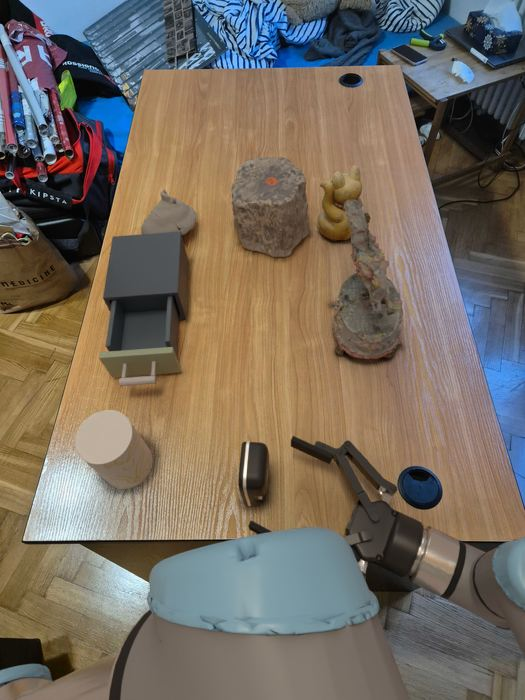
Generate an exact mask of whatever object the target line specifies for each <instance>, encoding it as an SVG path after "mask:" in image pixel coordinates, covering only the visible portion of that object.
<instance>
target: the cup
mask: <svg viewBox="0 0 525 700" xmlns="http://www.w3.org/2000/svg"><path fill="white" fill-rule="evenodd" d="M74 448H75V451H76V454H77V455H78V457H79V458H80V459H82V461H84V462H85V463H86V464H87V465H88V466H89V467H90V468H91V469H93V471H95V472H96V473H97V474H98V475H99V476H100V477H101V478H102V479H104V480H105V481H106V482H107V483H108V484H109V485H110V486H112V487H113V488H115V489H119V490H129V489H132V488H135V487H137V486H138V485H140V484H141V483H144V481H146V479H147V478H148V476H149V475H150V474H151V471H152V469H153V464H154V458H153V453H152V451H151V449H150V447H148V445H147V443H146V442H145V441H144V439H143V437H142V436H141V435H140V433H139V432H138V430H137V429H136V428H135V427H134V425H133V423H132V421H130V419H129V417H127V416H126V415H125V414H124V413H122V412H120V411H118V410H114V409H105V410H99V411H97V412H95V413H93V414H90V415H89V416H88V417H86V419H85V420H83V421H82V423H81V424H80V426H79V427H78V429H77V431H76V433H75V437H74Z"/></svg>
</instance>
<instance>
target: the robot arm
mask: <svg viewBox="0 0 525 700" xmlns="http://www.w3.org/2000/svg"><path fill="white" fill-rule="evenodd" d="M290 447H291V448H292V449H295V450H297V451H300V452H302V453H304V454H306V455H308V456H310V457H312V458H315V459H317V460H319V461H322V462H324V463H326V464H327V465H331V464H332V461H333V462H334V463H335V465H336V467H337V469H338V471H339V473H340V474H341V476H342V478H343V480H344V482H345V484H346V486H347V487H348V490H349V492H350V493H351V495H352V497H353V499H354V503H355V504H356V505H355V506H354V507H353V510H352V512H351V515H350V520H349V521H348V523H347V525H346V527H345V530H344V536H343V535H342V534H340V533H339V532H337V531H335V530H333V529H331V528H328V527H323V526H306V527H305V526H303V527H297V528H296V527H295V528H286V529H281V530H274V531H272V530H270V529H268V528H266V527H265V526H262V525H261V524H259V523H258V522H255V521H253V520H250V521H249V523H248V525H247V526H248V529H249V531H251V532H253V533H254V534H252V535H247V536H242V537H238V538H233V539H229V540H225V541H221V542H220V541H219V542H216V543H212V544H208V545H204V546H200V547H197V548H193V549H190V550H186V551H183V552H180V553H177V554H174V555H172V556H169V557H167V558H164V559H162V560H160V561H158V563H156V564H155V565H154V566H153V567H152V569H151V571H150V573H149V577H148V579H149V580H148V584H149V585H148V586H149V591H148V593H147V596H146V600H147V605H148V608H149V609H148V610H147V611H146V612H144V614H143V615H141V616H140V618H139V619H138V620H137V621H136V622H134V624H133V625H132V627H131V628H130V630H129V631H128V633H127V634H126V635H125V638H124V639H123V642H122V644H121V645H120V647H119V649H118V650H116V651H114V652H112V653H109V654H108V655H106V656H104V657H102V658H99V659H97V660H95V661H93V662H91V663H89V664H87V665H85V666H83V667H81V668H79V669H76V670H74V671H72V672H70V673H68V674H66V675H64V676H61V677H59V678H58V679H55V680H53V679H52V674H51V672H50V669H49V668H48V666H46V665H43V664H40V663H27V664H21V665H16V666H15V665H14V666H11V667H7V668H3V669H0V700H411V698H410V696H409V693H408V690H407V687H406V685H405V682H404V679H403V678H402V675H401V672H400V669H399V667H398V664H397V662H396V659H395V656H394V653H393V650H392V648H391V646H390V643H389V640H388V638H387V636H386V633H385V630H384V627H383V624H382V623H381V619H380V616H379V614H378V613H379V612H380V608H381V607H380V604H379V600H378V598H377V596H376V594H375V593H374V592H373V591H371V590H370V589H369V586H368V584H367V582H366V579H367V575H366V572H367V568H368V564H374V565H376V566H378V567H380V568H382V569H385V570H386V571H388V572H390V573H392V574H394V575H396V576H398V577H400V578H405V577H408V580H409V582H410V583H412V584H413V585H416V586H418V587H420V588H421V589H423V590H425V591H428V592H430V593H431V594H433V595H436V596H438V597H440V598H442V599H444V600H446V601H448V602H449V603H452V604H454V605H456V606H457V607H459V608H462V609H464V610H466V611H467V612H469V613H471V614H473V615H475V616H477V617H479V618H480V619H482V620H484V621H487V622H488V623H490V624H492V625H493V626H495V627H496V628H497V629H499V630H502V631H505V632H509V633H511V634H512V635H513V637H514V639H515V641H516V643H517V645H518V647H519V649H520V651H521V653H522V655H523V657H524V658H525V536H522V537H519V538H514V539H512V540H509V541H505V542H503V543H501V544H499V545H498V546H497V547H495V548H493V549H491V550H489V551H484V550H481V549H479V548H477V547H474V546H472V545H470V544H469V543H466V542H464V541H462V540H459V539H458V538H455V537H454V536H451V535H449V534H447V533H445V532H443V531H441V530H439V529H436V528H435V527H433V526H430V525H429V526H427V527H426V528H424V527H425V526H424V524H423V522H421V521H420V520H417V519H415V518H414V517H411V516H409V515H406V514H405V513H403V512H400V511H398V510H397V509H394V508H393V507H391V506H390V502H391V500H392V499H393V497H394V496H395V494H396V493H397V491H398V486H397V485H396V484H394V483H392V482H391V481H389V480H387V479H385V478H384V476H383V475H382V474H381V473H379V471H378V470H377V469H376V468H375V467H374V466H373V465H372V464H371V463H370V461H369V460H368V459H367V458H366V457H365V456H364V455H363V453H362V452H361V451H360V450H359V449H358V448H357V447H356V446H355V445H354V444H353V443H352V442H351V440H344V441H343V444H342V445H340V446H339V447H337V448H335V447H333V446H331V445H329V444H326V443H324V442H322V441H319V440H316V441H315V442H314V444H312V443H310V442H308V441H306V440H303V439H301V438H299V437H297V436H295V435H292V436H291V439H290ZM349 461H350V462H349ZM350 463H352V464H353V465H354V467H355V468H356V469H357V470H358V472H360V474H361V475H362V476H363V477H364V478H365V479H366V480H367V482H369V484H370V485H371V486H372V487H373V488H374V489H375V490H377V495H378V496H379V498H380V499H381V500H375V501H371V499H370V497H369V495H368V493H367V492H366V491H365V489H364V488H363V486H362V484H361V483H360V481H359V479H358V477H357V475H356V473H355V471H354V470H353V467H352V466H351V464H350ZM358 560H359V561H358Z"/></svg>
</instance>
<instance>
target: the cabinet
mask: <svg viewBox="0 0 525 700" xmlns="http://www.w3.org/2000/svg"><path fill="white" fill-rule="evenodd" d="M110 244H111V245H110V252H109V256H108V257H109V258H108V262H107V263H108V264H107V269H106V270H107V271H106V276H105V282H104V290H103V294H102V299H103V301H104V303H105V305H106V307H107V309H108V311H109V313H110V312H111V305H112V300H119V299H133V298H146V297H159V296H173V295H174V296H175V299H176V302H177V305H178V308H179V322H183V321H187V320H188V319H187V317H188V291H189V258H188V253H187V249H186V246H185V241H184V238H183V235H182V234H181V231H180V232H167V233H154V234H142V233H140V234H129V235H116V236H112V238H111V243H110Z"/></svg>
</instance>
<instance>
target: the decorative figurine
mask: <svg viewBox="0 0 525 700" xmlns="http://www.w3.org/2000/svg"><path fill="white" fill-rule="evenodd" d="M361 176H362V175H361V170H360V166H359V165H358V164H353V165H352V166H351V167H350V169H349V172H343V173H342V172H341V171H339V170H338V171H335V172H334V173H333V175H332V179H331V180H330V179H324V180H322V181H321V183H320V184H319V186H320V188H322V189H323V190H324V195H323V197H322V201H321V207H322V210H323V211H322V212H320V214H319V216H318V219H317V224H316V227H317V230H318V231H319V232H320V233H321V235H323V236H324V237H325V238H326V239H329V240H330V241H331V242H332V243H334V242H336V241H343V240H344V241H348V240H349V239H351V232H352V230H351V227H350V224H349V223H348V217H347V216H346V212H345V207H344V202H346V201H347V200H357V201H360V202H362V203H363V201H362V199H361V195H362V193H363V192H362V191H363V182H362V180H361ZM361 209H362V210H363V206H362V207H361Z"/></svg>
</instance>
